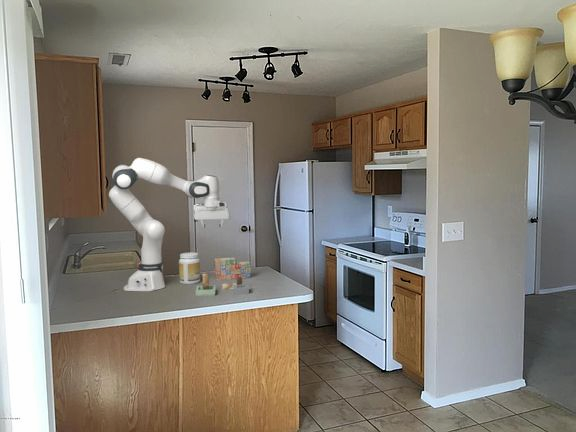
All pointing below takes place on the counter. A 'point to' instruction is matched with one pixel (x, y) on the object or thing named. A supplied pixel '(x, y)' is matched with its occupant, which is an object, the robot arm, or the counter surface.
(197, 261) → the supplement tub
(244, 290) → the collar
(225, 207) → the robot arm
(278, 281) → the counter surface
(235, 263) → the stack of blocks
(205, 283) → the dowel
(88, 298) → the counter surface
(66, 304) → the counter surface
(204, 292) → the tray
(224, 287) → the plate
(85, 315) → the counter surface
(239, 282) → the bench dog
